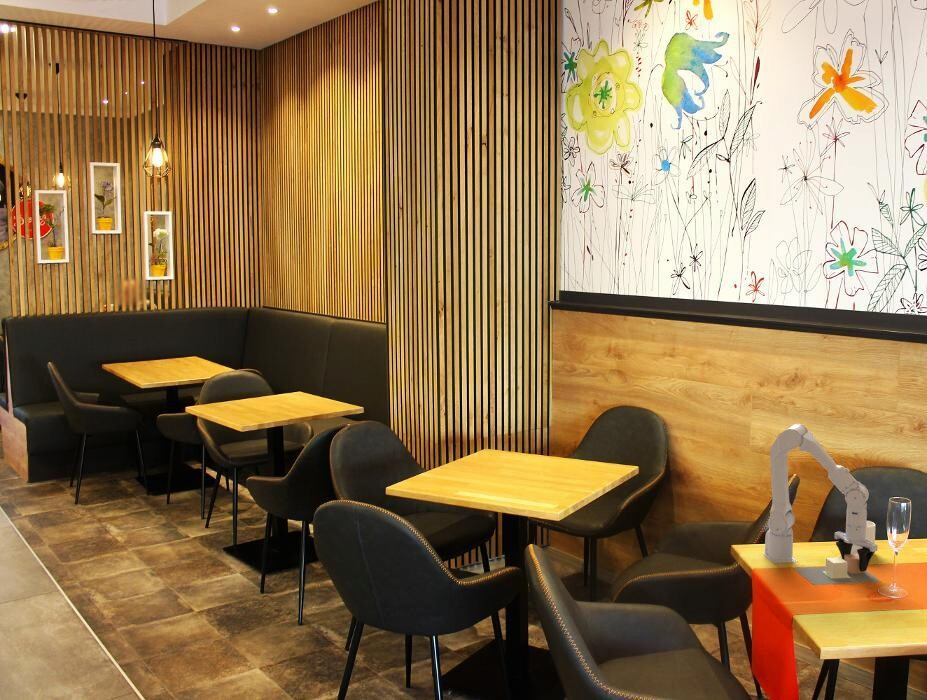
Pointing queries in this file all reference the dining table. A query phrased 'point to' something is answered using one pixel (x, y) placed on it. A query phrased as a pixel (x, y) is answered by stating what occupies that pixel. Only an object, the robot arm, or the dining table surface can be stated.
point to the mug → (869, 536)
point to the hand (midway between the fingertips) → (854, 567)
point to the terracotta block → (853, 563)
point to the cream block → (836, 567)
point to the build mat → (821, 577)
